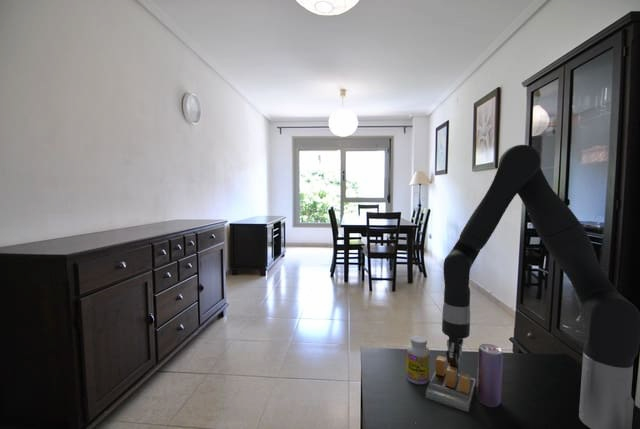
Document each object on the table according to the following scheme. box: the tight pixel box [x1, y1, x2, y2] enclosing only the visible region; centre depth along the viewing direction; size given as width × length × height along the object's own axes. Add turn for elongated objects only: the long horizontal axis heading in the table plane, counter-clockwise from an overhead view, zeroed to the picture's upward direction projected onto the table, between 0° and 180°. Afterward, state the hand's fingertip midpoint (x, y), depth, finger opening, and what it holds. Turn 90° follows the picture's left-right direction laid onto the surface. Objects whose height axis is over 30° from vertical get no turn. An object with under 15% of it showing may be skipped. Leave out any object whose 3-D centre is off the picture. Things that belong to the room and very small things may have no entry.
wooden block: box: [435, 355, 448, 376], centre depth 99 cm, size 2×3×5 cm
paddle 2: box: [446, 365, 457, 388], centre depth 93 cm, size 2×3×5 cm
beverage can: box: [476, 343, 504, 408], centre depth 89 cm, size 6×6×15 cm
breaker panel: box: [425, 370, 476, 413], centre depth 94 cm, size 11×14×3 cm
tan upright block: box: [459, 371, 472, 394], centre depth 90 cm, size 2×3×5 cm
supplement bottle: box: [405, 335, 431, 385], centre depth 100 cm, size 7×7×13 cm
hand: (453, 374), depth 97 cm, fingers closed
